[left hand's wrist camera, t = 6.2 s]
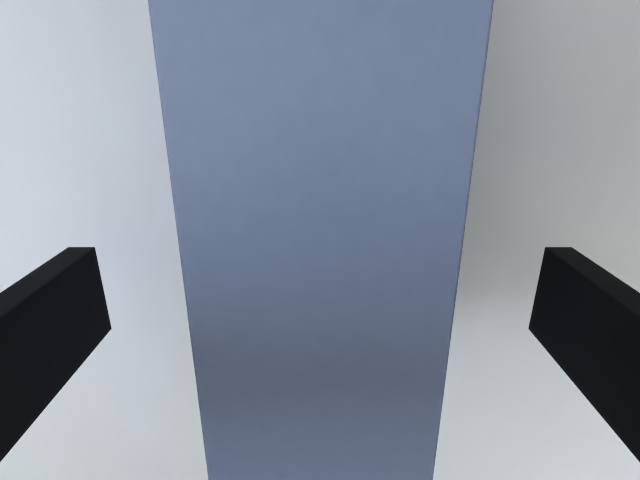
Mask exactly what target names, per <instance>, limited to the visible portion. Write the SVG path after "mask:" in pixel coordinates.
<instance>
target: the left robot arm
mask: <svg viewBox="0 0 640 480" xmlns="http://www.w3.org/2000/svg"><path fill="white" fill-rule="evenodd" d="M110 330H111V324H110V319H109V314H108V309H107V305H106V300H105V295H104V290H103V285H102V280H101V275H100V270H99V266H98V261H97V256H96V251H95V247H68V248H67V249H65V250H64V251H62V252H61V253H59V254H58V255H56V256H55V257H53V258H52V259H50V260H49V261H47V262H46V263H44V264H43V265H41V266H40V267H38V268H37V269H35V270H34V271H32V272H31V273H29V274H28V275H26V276H25V277H23V278H22V279H20V280H19V281H18V282H16V283H15V284H13V285H12V286H10V287H9V288H7V289H6V290H4V291H3V292H1V293H0V462H1V460H2V459H3V458H4V457H5V456H6V454H7V453H8V452H9V451H10V450H11V448H12V447H13V446H14V445H15V444H16V442H17V441H18V440H19V439H20V438H21V436H22V435H23V434H24V433H25V432H26V430H27V429H28V428H29V427H30V426H31V424H32V423H33V422H34V421H35V420H36V418H37V417H38V416H39V415H40V414H41V412H42V411H43V410H44V409H45V408H46V406H47V405H48V404H49V403H50V402H51V400H52V399H53V398H54V397H55V396H56V394H57V393H58V392H59V391H60V390H61V388H62V387H63V386H64V385H65V384H66V382H67V381H68V380H69V379H70V378H71V376H72V375H73V374H74V373H75V372H76V370H77V369H78V368H79V367H80V366H81V365H82V363H83V362H84V361H85V360H86V359H87V357H88V356H89V355H90V354H91V353H92V351H93V350H94V349H95V348H96V347H97V345H98V344H99V343H100V342H101V341H102V339H103V338H104V337H105V336H106V335H107V333H108V332H109V331H110ZM529 330H530V331H531V332H532V333H533V335H534V336H535V337H536V338H537V339H538V341H539V342H540V343H541V344H542V345H543V347H544V348H545V349H546V350H547V351H548V353H549V354H550V355H551V356H552V357H553V359H554V360H555V361H556V362H557V363H558V365H559V366H560V367H561V368H562V369H563V370H564V372H565V373H566V374H567V375H568V376H569V378H570V379H571V380H572V381H573V382H574V384H575V385H576V386H577V387H578V388H579V390H580V391H581V392H582V393H583V394H584V396H585V397H586V398H587V399H588V400H589V402H590V403H591V404H592V405H593V406H594V408H595V409H596V410H597V411H598V412H599V414H600V415H601V416H602V417H603V418H604V420H605V421H606V422H607V423H608V424H609V426H610V427H611V428H612V429H613V430H614V432H615V433H616V434H617V435H618V436H619V438H620V439H621V440H622V441H623V442H624V444H625V445H626V446H627V447H628V448H629V450H630V451H631V452H632V453H633V454H634V456H635V457H636V458H637V459H638V460H639V462H640V293H639V292H637V291H636V290H634V289H633V288H631V287H630V286H628V285H627V284H625V283H624V282H622V281H621V280H620V279H618V278H617V277H615V276H614V275H612V274H611V273H609V272H608V271H606V270H605V269H603V268H602V267H600V266H599V265H597V264H596V263H594V262H593V261H591V260H590V259H588V258H587V257H585V256H584V255H582V254H581V253H579V252H578V251H576V250H575V249H573V248H572V247H545V251H544V256H543V261H542V266H541V270H540V275H539V280H538V285H537V290H536V295H535V300H534V305H533V309H532V314H531V319H530V324H529Z"/></svg>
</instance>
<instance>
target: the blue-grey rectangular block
mask: <svg viewBox="0 0 640 480" xmlns="http://www.w3.org/2000/svg"><path fill="white" fill-rule="evenodd" d="M493 1H494V0H148V4H149V12H150V20H151V28H152V36H153V44H154V51H155V59H156V67H157V75H158V83H159V91H160V99H161V107H162V115H163V123H164V131H165V139H166V146H167V154H168V162H169V170H170V178H171V186H172V194H173V202H174V210H175V218H176V226H177V234H178V242H179V249H180V257H181V265H182V273H183V281H184V289H185V297H186V305H187V313H188V321H189V329H190V337H191V344H192V352H193V360H194V368H195V376H196V384H197V392H198V400H199V408H200V416H201V424H202V432H203V440H204V447H205V455H206V463H207V471H208V479H209V480H433V472H434V464H435V457H436V449H437V441H438V433H439V425H440V417H441V409H442V402H443V394H444V386H445V378H446V370H447V362H448V355H449V347H450V339H451V331H452V323H453V315H454V307H455V300H456V292H457V284H458V276H459V268H460V260H461V253H462V245H463V237H464V229H465V221H466V213H467V205H468V198H469V190H470V182H471V174H472V166H473V158H474V151H475V143H476V135H477V127H478V119H479V111H480V103H481V96H482V88H483V80H484V72H485V64H486V56H487V49H488V41H489V33H490V25H491V17H492V9H493Z"/></svg>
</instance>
